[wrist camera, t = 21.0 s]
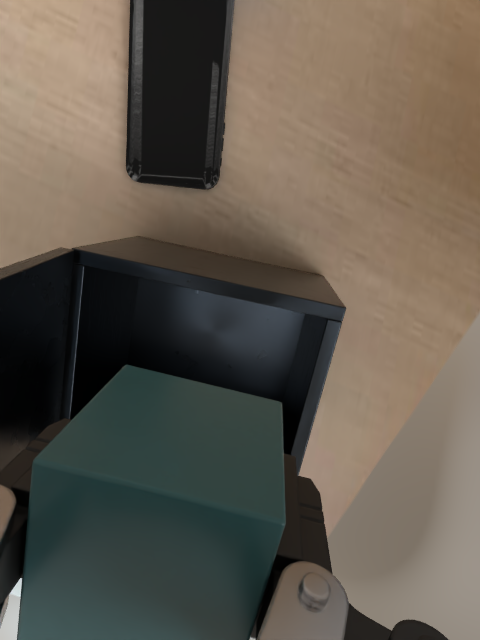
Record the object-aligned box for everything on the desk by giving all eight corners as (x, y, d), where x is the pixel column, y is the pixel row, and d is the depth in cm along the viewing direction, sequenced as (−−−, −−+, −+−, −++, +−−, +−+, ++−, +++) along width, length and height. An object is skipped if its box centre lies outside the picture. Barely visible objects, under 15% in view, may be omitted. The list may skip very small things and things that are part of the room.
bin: (324, 275, 35) (346, 307, 24) (287, 414, 39) (291, 500, 27) (137, 235, 36) (71, 247, 24) (119, 376, 39) (54, 444, 28)
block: (282, 400, 11) (286, 523, 7) (247, 530, 12) (231, 703, 8) (125, 363, 11) (30, 459, 7) (105, 494, 12) (14, 646, 8)
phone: (125, 180, 34) (130, -33, 30) (130, 181, 35) (135, -25, 31) (218, 190, 33) (236, -26, 29) (220, 191, 34) (238, -17, 30)
